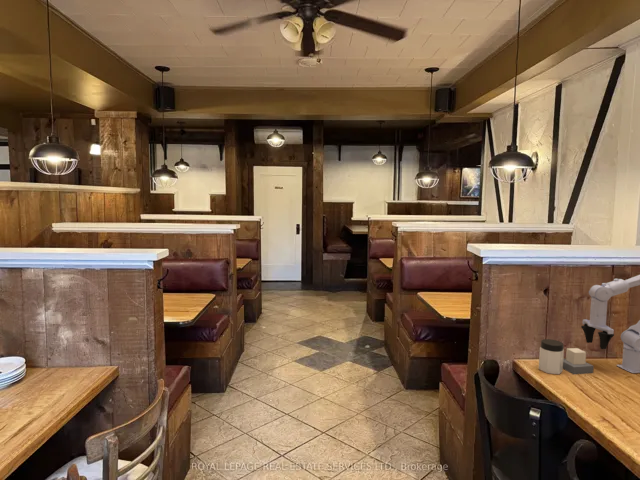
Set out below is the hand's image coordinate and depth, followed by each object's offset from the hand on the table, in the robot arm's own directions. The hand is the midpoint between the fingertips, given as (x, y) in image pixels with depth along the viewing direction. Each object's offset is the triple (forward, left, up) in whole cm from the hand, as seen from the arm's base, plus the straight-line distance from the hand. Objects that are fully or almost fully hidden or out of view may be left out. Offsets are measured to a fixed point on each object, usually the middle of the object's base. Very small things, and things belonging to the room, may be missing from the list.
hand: (596, 345), depth 176 cm
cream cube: (+10, +1, -6) cm, 12 cm away
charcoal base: (+10, +1, -10) cm, 14 cm away
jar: (+21, +1, -10) cm, 23 cm away
